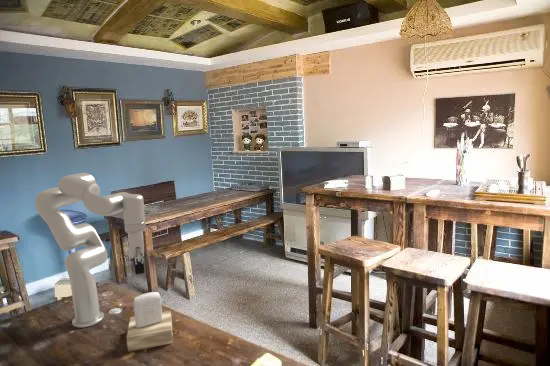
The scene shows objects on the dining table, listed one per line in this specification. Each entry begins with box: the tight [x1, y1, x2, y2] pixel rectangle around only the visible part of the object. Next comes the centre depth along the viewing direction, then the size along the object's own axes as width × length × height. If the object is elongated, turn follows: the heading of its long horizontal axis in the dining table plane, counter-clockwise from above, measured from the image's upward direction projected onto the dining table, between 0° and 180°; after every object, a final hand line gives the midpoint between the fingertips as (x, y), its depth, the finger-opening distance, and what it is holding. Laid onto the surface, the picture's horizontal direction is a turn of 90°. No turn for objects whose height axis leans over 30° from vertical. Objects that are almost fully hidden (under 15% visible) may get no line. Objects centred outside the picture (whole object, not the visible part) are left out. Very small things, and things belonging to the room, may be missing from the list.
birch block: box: [126, 310, 173, 352], centre depth 151 cm, size 16×16×6 cm
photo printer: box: [133, 291, 163, 328], centre depth 150 cm, size 10×4×12 cm, turn 121°
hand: (138, 268), depth 149 cm, fingers open, 9 cm apart
